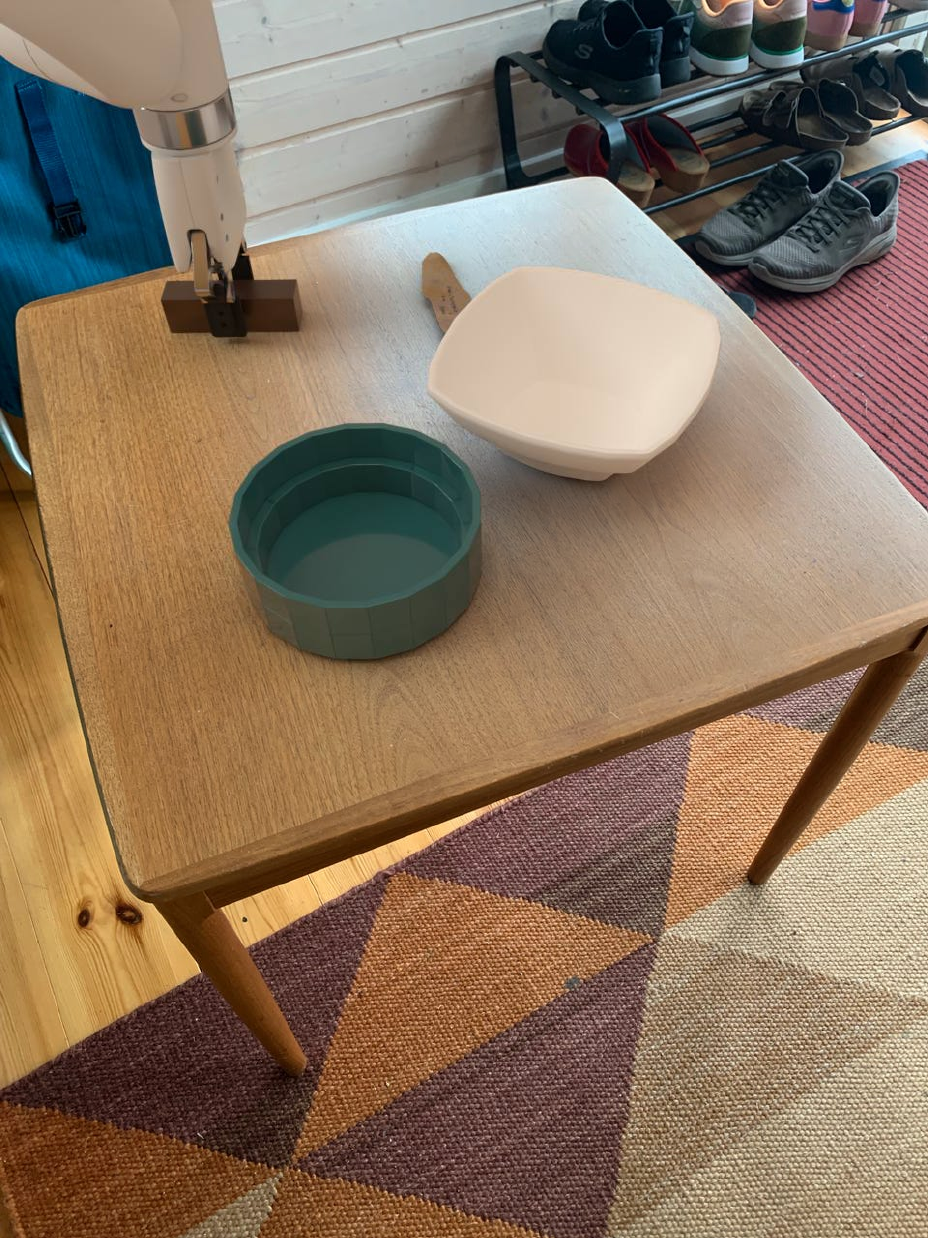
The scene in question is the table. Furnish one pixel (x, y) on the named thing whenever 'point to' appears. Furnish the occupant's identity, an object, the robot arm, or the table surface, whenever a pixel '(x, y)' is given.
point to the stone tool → (443, 290)
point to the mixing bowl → (358, 539)
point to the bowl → (576, 369)
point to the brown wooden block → (260, 300)
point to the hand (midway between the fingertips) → (235, 313)
